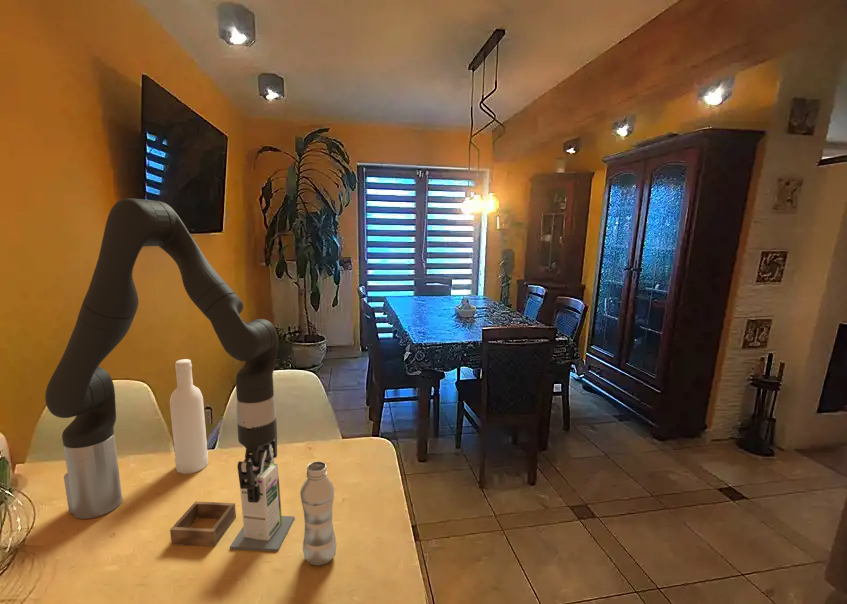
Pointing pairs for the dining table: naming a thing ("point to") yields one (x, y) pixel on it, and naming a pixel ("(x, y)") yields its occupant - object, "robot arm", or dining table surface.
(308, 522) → the plastic bottle
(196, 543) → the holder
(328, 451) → the dining table surface
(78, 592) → the dining table surface
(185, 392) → the bottle
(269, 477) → the syrup box
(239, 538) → the coaster
